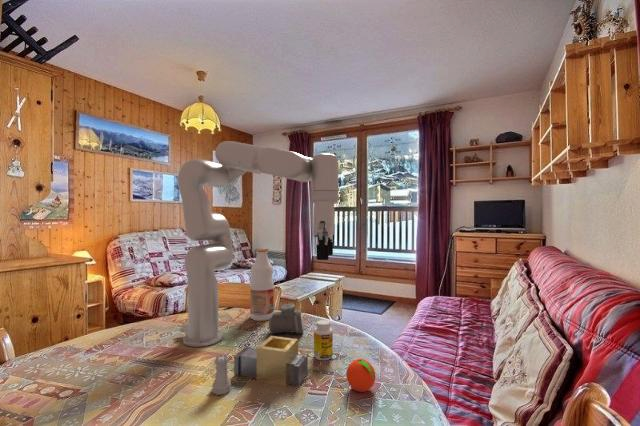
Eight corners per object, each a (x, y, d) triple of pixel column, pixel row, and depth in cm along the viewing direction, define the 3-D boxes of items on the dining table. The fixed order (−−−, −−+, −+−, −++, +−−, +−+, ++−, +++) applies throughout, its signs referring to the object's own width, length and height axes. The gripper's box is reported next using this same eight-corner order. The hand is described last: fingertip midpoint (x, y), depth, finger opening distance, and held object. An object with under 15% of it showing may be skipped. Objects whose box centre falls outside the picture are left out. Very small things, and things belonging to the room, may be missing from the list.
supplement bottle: (320, 363, 88) (320, 326, 88) (310, 355, 93) (310, 321, 93) (336, 358, 91) (336, 322, 91) (325, 351, 96) (325, 317, 96)
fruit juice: (247, 315, 129) (247, 248, 129) (269, 312, 133) (269, 246, 133) (254, 322, 120) (253, 250, 121) (277, 319, 125) (277, 249, 125)
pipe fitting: (304, 326, 115) (301, 299, 114) (304, 337, 107) (300, 308, 106) (272, 330, 115) (268, 303, 114) (269, 341, 107) (265, 312, 106)
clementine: (384, 394, 73) (384, 363, 73) (362, 404, 69) (362, 371, 69) (362, 379, 79) (362, 351, 79) (340, 387, 76) (340, 357, 76)
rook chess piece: (214, 385, 76) (214, 353, 76) (233, 384, 77) (233, 352, 77) (209, 396, 72) (209, 361, 72) (229, 395, 72) (229, 360, 72)
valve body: (232, 377, 80) (232, 344, 80) (248, 362, 88) (248, 332, 88) (297, 388, 75) (297, 353, 75) (308, 372, 83) (308, 340, 83)
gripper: (317, 199, 99) (317, 253, 99) (306, 196, 82) (306, 261, 81) (340, 199, 97) (341, 253, 97) (334, 195, 80) (334, 262, 80)
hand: (325, 257), depth 89 cm, fingers open, 9 cm apart
